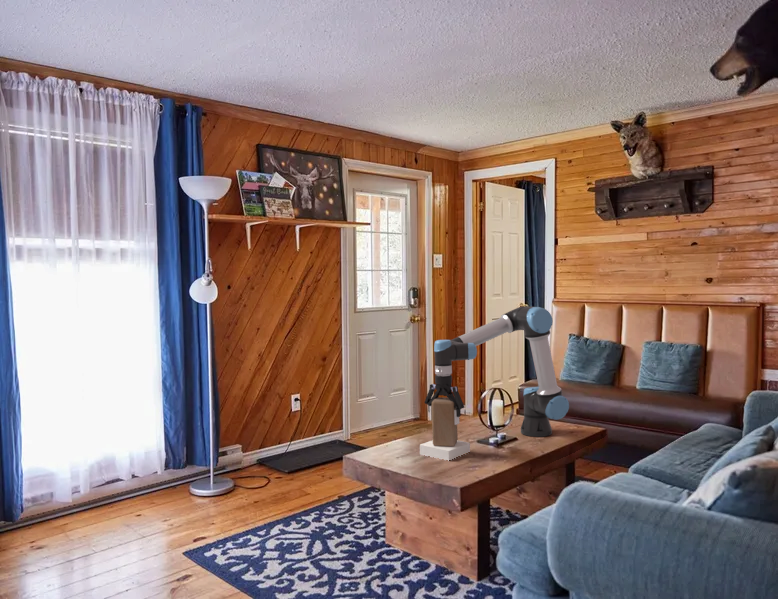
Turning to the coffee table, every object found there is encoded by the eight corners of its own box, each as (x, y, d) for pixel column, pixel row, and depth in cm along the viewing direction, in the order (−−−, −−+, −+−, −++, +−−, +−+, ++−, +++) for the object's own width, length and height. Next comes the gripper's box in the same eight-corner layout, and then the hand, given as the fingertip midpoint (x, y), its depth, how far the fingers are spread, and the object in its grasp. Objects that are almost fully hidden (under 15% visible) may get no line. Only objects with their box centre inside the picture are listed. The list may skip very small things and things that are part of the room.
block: (454, 447, 267) (453, 401, 267) (432, 446, 270) (431, 401, 269) (457, 441, 277) (456, 397, 276) (436, 440, 279) (435, 396, 279)
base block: (470, 453, 274) (469, 442, 274) (448, 462, 262) (448, 450, 262) (441, 447, 285) (441, 437, 285) (419, 455, 273) (419, 444, 273)
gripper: (416, 373, 278) (417, 419, 278) (461, 378, 261) (462, 427, 262) (426, 371, 283) (427, 416, 284) (471, 376, 267) (472, 424, 268)
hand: (444, 422), depth 273 cm, fingers open, 13 cm apart
